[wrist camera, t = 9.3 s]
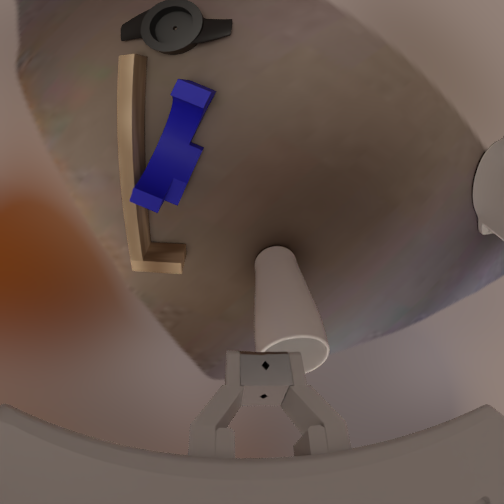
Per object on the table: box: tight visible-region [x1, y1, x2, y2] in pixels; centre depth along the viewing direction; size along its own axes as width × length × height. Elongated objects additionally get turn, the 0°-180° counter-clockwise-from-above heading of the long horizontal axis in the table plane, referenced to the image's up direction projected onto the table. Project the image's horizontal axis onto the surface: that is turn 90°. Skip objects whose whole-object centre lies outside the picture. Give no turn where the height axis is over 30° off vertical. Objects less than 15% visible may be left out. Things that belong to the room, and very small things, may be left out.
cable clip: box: [130, 79, 216, 213], centre depth 25 cm, size 12×4×6 cm, turn 152°
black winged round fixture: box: [121, 0, 232, 55], centre depth 19 cm, size 8×10×3 cm
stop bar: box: [117, 54, 186, 274], centre depth 26 cm, size 6×24×4 cm, turn 175°
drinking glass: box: [254, 246, 330, 373], centre depth 30 cm, size 7×7×15 cm
